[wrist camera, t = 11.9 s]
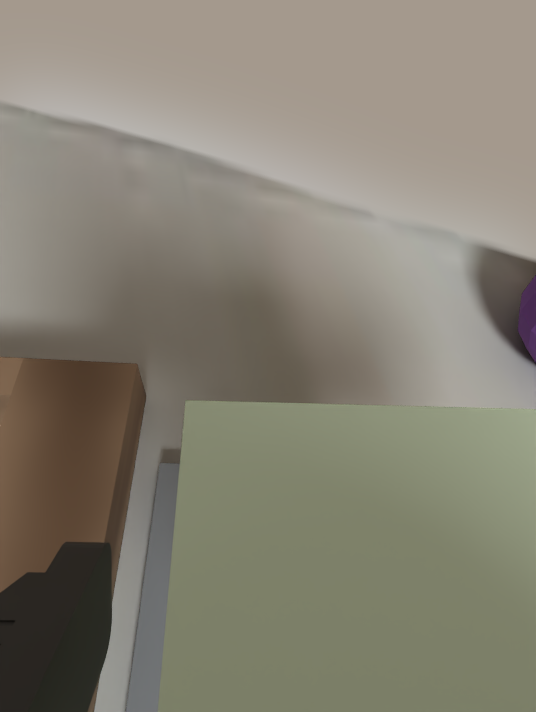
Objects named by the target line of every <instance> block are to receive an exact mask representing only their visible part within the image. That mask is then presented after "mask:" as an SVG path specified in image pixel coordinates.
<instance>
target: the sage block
mask: <svg viewBox="0 0 536 712" xmlns="http://www.w3.org/2000/svg"><path fill="white" fill-rule="evenodd" d="M158 712H536V409H506V408H467V407H429V406H390V405H351V404H313V403H274V402H236V401H197V400H185V411H184V422H183V433H182V445H181V456H180V467H179V478H178V489H177V501H176V512H175V523H174V534H173V545H172V557H171V568H170V579H169V590H168V602H167V613H166V624H165V635H164V646H163V658H162V669H161V680H160V691H159V702H158Z"/></svg>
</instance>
